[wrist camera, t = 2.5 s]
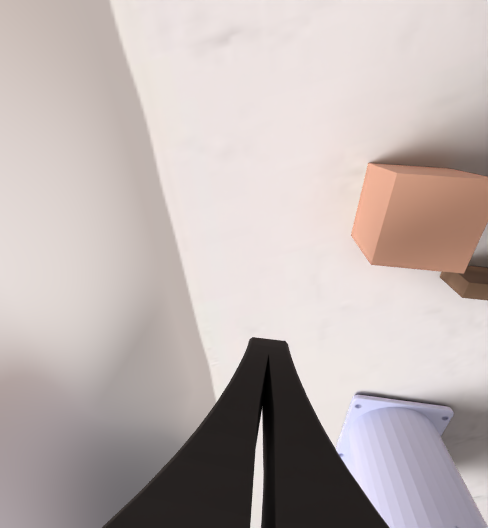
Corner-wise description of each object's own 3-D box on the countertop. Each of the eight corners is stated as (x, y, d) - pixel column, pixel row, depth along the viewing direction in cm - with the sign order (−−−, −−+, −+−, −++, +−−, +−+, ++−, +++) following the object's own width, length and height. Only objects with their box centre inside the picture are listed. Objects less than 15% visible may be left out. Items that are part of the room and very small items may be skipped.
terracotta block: (421, 241, 17) (464, 273, 13) (350, 235, 18) (371, 264, 14) (448, 168, 15) (506, 180, 11) (367, 162, 16) (397, 173, 12)
